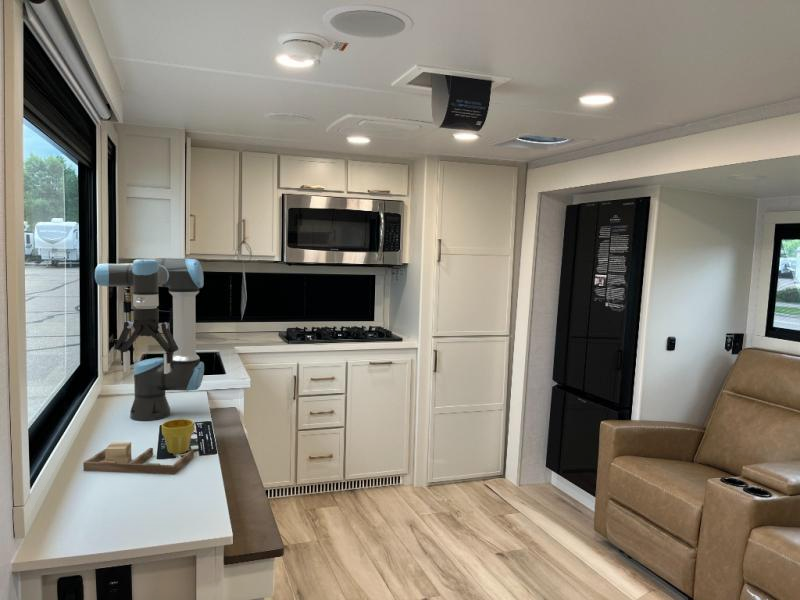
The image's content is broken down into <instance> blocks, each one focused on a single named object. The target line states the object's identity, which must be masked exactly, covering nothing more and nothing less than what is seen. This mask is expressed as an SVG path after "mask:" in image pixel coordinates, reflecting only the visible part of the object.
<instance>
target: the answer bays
mask: <svg viewBox="0 0 800 600" xmlns="http://www.w3.org/2000/svg"><path fill="white" fill-rule="evenodd" d="M105 449H106V448H104V449H103V450H101V451H99V452H97V454H94V455H93V456H90V458H88V459H87V460H85V461H83V463H82V464H83V468H82V469H83V471H86V472H89V471H90V472H109V473H110V472H114V473H116V472H117V473H134V474H154V475H155V474H156V475H157V474H160V475H176V474H177V473H178V472H179V471H180V470H181V469H182V468H184V466H186V465H187V464H188V463H189V462H190V461H191V460H193V458H194V457H195V449H190V450H188V451H187V453H186V452H185V454H184V455H182V457H181V458H180V459H178V460H177V461H176V462H175V463H174V464H172V465H171V464H161V463H160V462H146V461H148V460H149V459H150V458H151V457H153V456H152V455H154V448H153V447H150V448H147V449H146V450H145V451H144V452H143V453H141V454H140V455H138V456H137V457H135V458H134V459H133V460H131V461H130V462H129V463H116V462H115V461H105ZM101 460H102V461H101Z"/></svg>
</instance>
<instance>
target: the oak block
mask: <svg viewBox="0 0 800 600" xmlns="http://www.w3.org/2000/svg"><path fill="white" fill-rule="evenodd" d="M104 449H105V459H104V461H115V462H116V463H130V462H131V461H133V460H132V458H133V457H132V442H131V441H123V442H121V441H119V442H111V443H110V444H108V445H107V446H106V447H105V448H104Z"/></svg>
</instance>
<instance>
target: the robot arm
mask: <svg viewBox="0 0 800 600" xmlns="http://www.w3.org/2000/svg"><path fill="white" fill-rule="evenodd" d="M203 270H204V269H203V267H202V264H201V262H200V261H199V260H198V259H194V258H169V257H160V258H159V257H158V258H152V259H151V258H150V259H141V258H140V259H134V260H133V262H132V263H99V264H97V266H96V267H95V269H94V280H95V283H96V284H97V285H98V286H99V287H130V288H131V287H132V296H133V297H132V302H133V306H134V308H133V309H132V311H133V315H132V316H133V322H132V321H130V320H128V321H124V322H123V329H122V331H121V333H120V335H119V337H118V340H117V341H116V343H115V346H114V349H115V350H118V351H119V352H120V361H121V362H123V365H122V367H123V373H127V372H130V371H131V351H130V350H129V348H130V347H132V345H133V344H134V343H135V341H136V340H137V339H138V338H139V337H145V336H146V337H152V338H153V339H155V341H156V342H157V343H158V344H159V345H160V347H161V348H162V349H163V350H164V352H165V353H163V357H155V358H154V357H153V358H148V359H147V358H146V359H143V360H140V361H137V362H136V363H135V364H134V371H133V372H134V373H133V377H134V378H133V384H134V399H133V403H132V406H131V408H130V412H129V413H130V414H129V417H130V418H131V419H132V420H134V421H141V422H143V421H147V422H148V421H157V420H161V419H164V418H167V417H169V416H170V415H171V407H170V405H169V402H168V399H167V396H166V391H167V392H168V391H169V392H170V391H171V392H172V391H182V392H183V391H186V392H188V391H197V390H198V389H200V388H201V385H202V382H203V380H204V379H203V378H204V373H205V363H204V362H203V361H200V360H201V359H200V356H199V355H198V354H197V352H196V351H197V349H196V348H197V347H196V343H197V342H196V341H197V340H196V337H197V336H196V335H197V334H196V332H197V331H196V330H197V329H196V328H197V327H196V319H197V318H196V296H197V295H198V294H199V293H200V289H202V288H203V287H204V284H205V283H204V278H205V277H204V271H203ZM159 287H161V288H168V293H169V294H170V295H171V296H172V321H173V322H172V323H173V324H172V329H173V330H172V331H173V334H172V333H171V332H172V331H170V326H169V325H170V324H169V323H168V322H166V321H165V322H160V321H159V319H160V317H159V314H160V313H159V312H160V309H159V305H160V303H159V301H160V300H159ZM132 328H133V329H134V331H133V332H132V333H131V335H130V337H129V338H128V336H129V334H130V332H131V330H132ZM159 329H160V330H161V332H162V333H163V335H162V333H161V332H160V330H159ZM163 336H164V337H163ZM127 338H128V339H127Z"/></svg>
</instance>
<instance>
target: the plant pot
mask: <svg viewBox="0 0 800 600" xmlns="http://www.w3.org/2000/svg"><path fill="white" fill-rule="evenodd" d="M194 432H195V422H194V420H193V419H189V418H176V419H174V418H173V419H169V420H167V421H164V422H162V424H161V435H162V436H163V437H164V441H165V444H166V449H167V452H168V453H169V454H171V453H172V454H171V455H181V454H184V453H186V451H187V452H189V448H190V443H191V439H192V435H193V433H194Z"/></svg>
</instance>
